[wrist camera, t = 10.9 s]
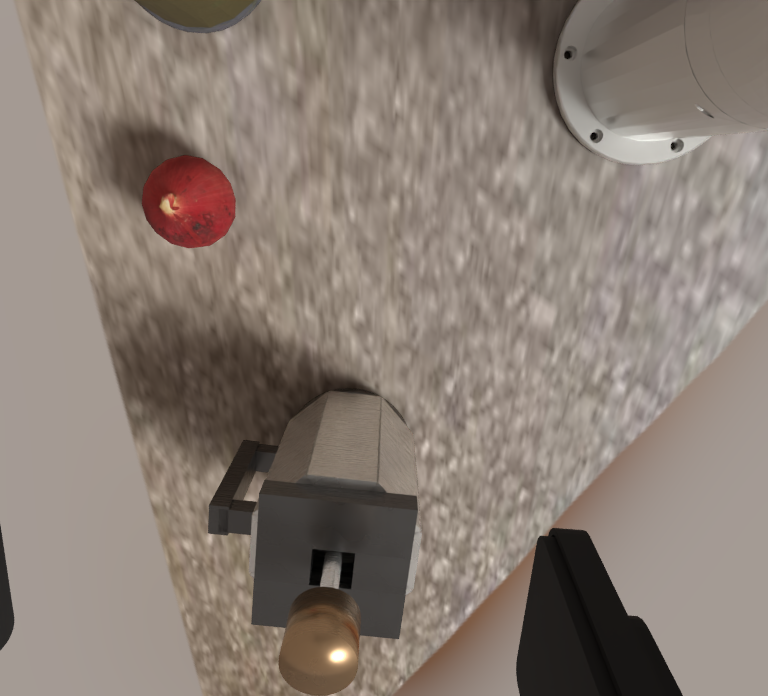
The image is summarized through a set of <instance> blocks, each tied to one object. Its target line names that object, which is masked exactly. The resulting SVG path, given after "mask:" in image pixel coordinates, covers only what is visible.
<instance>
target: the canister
mask: <svg viewBox="0 0 768 696" xmlns="http://www.w3.org/2000/svg"><path fill="white" fill-rule="evenodd" d="M135 1H136V2H138V3H139V4H140V5H141V6H142V7H143V8H144V9H145V10H146V11H147V12H149V13H150V14H151V15H153V16H154V17H155V18H157V19H158V20H159V21H161V22H163V23H165V24H167V25H169V26H171V27H173V28H176V29H179V30H183V31H186V32H196V33H211V32H216V31H221V30H224V29H226V28H228V27H230V26H233V25H235V24H236V23H238V22H239V21H241V20H242V19H243V18H245V17H246V16H248V15H249V14H250V13H251V12H252V11H253V9H254V8H255V7H256V6H257V5H258V4H259V2H260V1H261V0H135Z"/></svg>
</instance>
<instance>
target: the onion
mask: <svg viewBox="0 0 768 696" xmlns="http://www.w3.org/2000/svg"><path fill="white" fill-rule="evenodd" d="M235 202H236V200H235V196H234V193H233V190H232V186H231V183H230V182H229V181H228V179H227V178H226V177H225V175H224V174H223V173H222V171H221V170H220V169H218V168H217V167H215V166H214V165H212V164H211V163H209V162H208V161H206V160H205V159H203V158H198V157H192V156H187V155H183V156H179V157H175V158H171V159H168V160H166V161H164V162H163V163H162V164H161V165H159V166H158V167H157V168H156V169H154V170H153V171H152V172H151V174H150V176H149V178H148V179H147V181H146V183H145V185H144V187H143V197H142V206H143V209H144V213H145V216H146V219H147V221H148V222H149V224H150V225H151V227H152V228H153V229H154V231H155V232H156V233H157V234H159V235H160V236H162V237H163V238H164V239H166V240H167V241H168V242H170V243H171V244H174V245H178V246H182V247H186V248H195V247H203V246H210V245H212V244H213V243H215V242H216V241H217V240H219V239H220V238H222V237H223V236H225V235H226V233H227V232H228V230H229V228H230V226H231V224H232V222H233V220H234V218H235Z"/></svg>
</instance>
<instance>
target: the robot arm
mask: <svg viewBox="0 0 768 696" xmlns="http://www.w3.org/2000/svg"><path fill="white" fill-rule="evenodd" d="M566 51H567V52H569V53H570V58H569V59H565V57H564V53H565V52H566ZM553 83H554V91H555V98H556V101H557V104H558V107H559V110H560V113H561V116H562V118H563V119H564V121H565V123H566V125H567V126H568V128H569V130H570V131H571V133H572V134H573V135H574V136H575V137H576V138H577V139H578V141H579V142H580V143H581V144H582V145H584V146H585V147H586V148H588V149H589V150H590V151H592V152H593V153H594V154H596V155H598V156H601V157H603V158H605V159H607V160H609V161H613V162H617V163H622V164H626V165H650V164H659V163H663V162H666V161H670V160H674V159H676V158H679V157H681V156H683V155H685V154H687V153H689V152H691V151H693V150H694V149H696V148H697V147H699V146H700V145H701V144H703V143H704V142H706V141H707V140H708V139H709V138H710V137H711V136H714V135H726V134H738V133H750V132H761V131H768V0H579V1H578V2H577V3H576V5H575V7H574V8H573V10H572V12H571V13H570V15H569V16H568V18H567V20H566V22H565V24H564V27H563V29H562V32H561V34H560V36H559V39H558V43H557V47H556V52H555V56H554V67H553ZM591 133H595V135H596V138H595V139H594V140H591V139H590V135H591ZM672 142H673V143H674V144H675V147H674V149H672V150H671V143H672ZM13 626H14V613H13V607H12V600H11V593H10V587H9V580H8V573H7V566H6V560H5V553H4V547H3V540H2V533H1V526H0V650H1V649H2V648H3V647H4V645H5V644H6V643H7V641H8V640H9V638H10V636H11V633H12V630H13ZM516 671H517V672H516V674H517V682H518V688H519V693H520V696H683V695H682V693H681V691H680V689H679V687H678V685H677V683H676V681H675V679H674V677H673V676H672V674H671V672H670V670H669V668H668V666H667V664H666V662H665V660H664V658H663V656H662V654H661V652H660V650H659V648H658V646H657V644H656V642H655V640H654V639H653V637H652V635H651V633H650V631H649V629H648V627H647V625H646V624H645V623H644V621H643V620H642V619H641V618H639V617H638V616H628V615H627V613H626V611H625V609H624V607H623V604H622V602H621V600H620V598H619V596H618V594H617V592H616V590H615V588H614V586H613V584H612V582H611V580H610V577H609V575H608V573H607V571H606V569H605V567H604V565H603V563H602V561H601V559H600V557H599V555H598V553H597V550H596V548H595V546H594V544H593V542H592V540H591V538H590V536H589V534H588V533H587V532H586V531H584V530H573V529H559V528H552V529H551V530H550V532H549V535H548V536H540V537H539V538H538V541H537V545H536V551H535V557H534V563H533V569H532V574H531V580H530V586H529V592H528V598H527V603H526V610H525V615H524V621H523V627H522V632H521V638H520V644H519V650H518V656H517V666H516Z"/></svg>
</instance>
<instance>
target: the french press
mask: <svg viewBox="0 0 768 696" xmlns="http://www.w3.org/2000/svg"><path fill="white" fill-rule="evenodd" d="M259 443H260V442H257V441H248V440H243V442H242V444H241V446H240V448H239V450H238V452H237V453H236V455H235V457H234V459H233V461H232V463H231V465H230V467H229V469H228V470H227V472H226V474H225V476H224V478H223V480H222V482H221V484H220V486H219V487H218V489H217V491H216V493H215V495H214V497H213V499H212V501H211V503H210V504H209V525H208V533H210V534H219V535H228V534H229V533H237V534H246V535H251V542H250V560H249V572H250V575H251V576H252V577H253V578H254V590H253V606H252V623H251V624H253V625H263V626H273V627H283V628H286V624H287V620H288V615H289V611H290V607H291V605H292V603H293V601H294V600H295V599H296V598H297V597H298V596H299V595H300V594H301V593H303V592H304V591H306V590H309V589H311V588H315V587H320V583H321V577H322V571H323V565H324V559H325V553H326V550H328V551H338V552H343V556H342V564H341V573H340V581H339V590H342V591H343V592H345V593H347V594H348V595H350V596H351V597H352V598H353V599H354V600H355V602H356V603H357V605H358V607H359V609H360V613H361V624H360V635H363V636H373V637H383V638H393V639H399V635H400V629H401V622H402V615H403V608H404V602H405V595H407V594H408V593H410V592H411V591H412V589H413V588H414V582H415V575H416V569H417V562H418V556H419V549H420V542H421V536H422V527H421V515H420V504H419V492H418V480H417V468H416V457H415V445H414V435H413V433H412V432H411V431H410V429H409V428H408V427H407V425H406V423H405V421H404V419H403V417H402V416H401V414H400V413H399V412H398V410H397V409H396V408H395V407H394V406H393V405H392V404H390V403H389V402H388V401H387V400H385V399H383V398H382V397H380V396H378V395H376V394H374V393H371V392H368V391H365V390H360V389H349V388H347V389H337V390H332V391H329V392H326V393H323V394H321V395H319V396H317V397H315V398H314V399H312V400H311V401H310V402H308V403H307V404H306V405H305V406H304V407H303V408H302V409H301V411H300V412H299V413H298V414H297V415H296V416H295V417H293V418H292V419H291V420H289V422H288V425H287V427H286V430H285V432H284V435H283V438H282V440H281V443H280V445H279V446H272V445H263V444H259ZM256 471H261V472H269V473H268V476H267V478H266V480H264V483H263V485H262V488H261V490H260V493H259V499H258V501H257V502H253V501H243V499H244V497H245V495H246V492H247V490H248V488H249V485H250V483H251V481H252V479H253V476H254V474H255V472H256Z"/></svg>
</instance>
